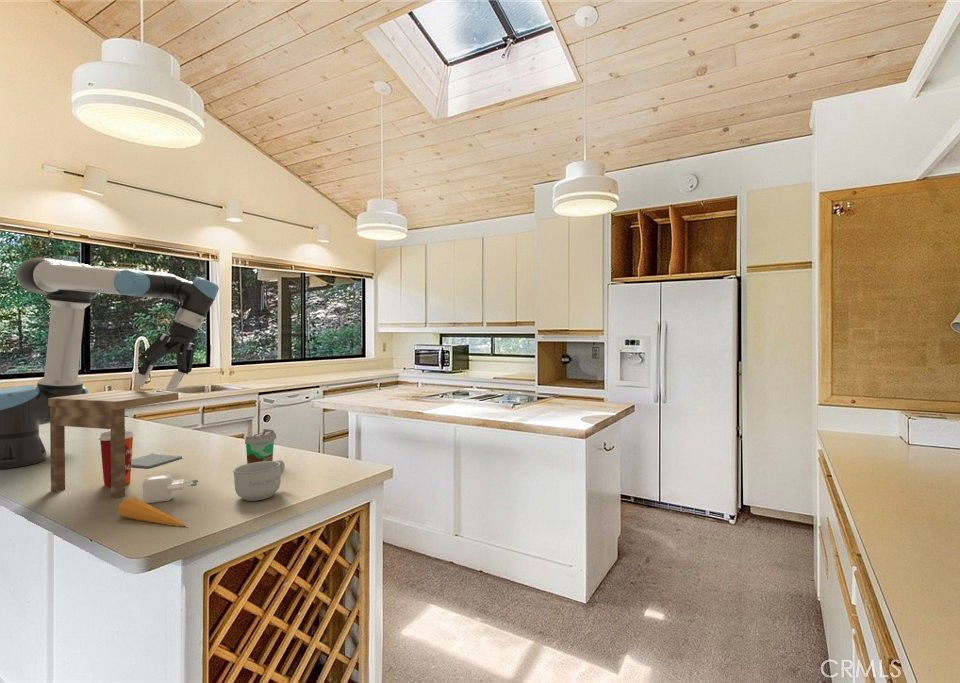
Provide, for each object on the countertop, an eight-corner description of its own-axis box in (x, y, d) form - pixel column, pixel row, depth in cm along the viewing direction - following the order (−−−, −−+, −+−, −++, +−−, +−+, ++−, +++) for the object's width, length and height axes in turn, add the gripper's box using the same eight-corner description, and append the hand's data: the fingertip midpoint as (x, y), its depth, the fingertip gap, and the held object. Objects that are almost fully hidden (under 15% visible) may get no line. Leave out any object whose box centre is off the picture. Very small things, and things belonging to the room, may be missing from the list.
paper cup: (137, 483, 130) (137, 432, 130) (102, 490, 124) (101, 436, 124) (131, 477, 135) (130, 428, 135) (96, 483, 130) (96, 432, 129)
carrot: (118, 520, 107) (111, 504, 105) (137, 506, 111) (131, 491, 109) (183, 543, 100) (177, 527, 98) (201, 528, 104) (196, 512, 102)
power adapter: (198, 493, 123) (198, 470, 123) (196, 499, 119) (196, 475, 119) (146, 499, 118) (146, 475, 118) (142, 505, 114) (141, 481, 114)
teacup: (250, 508, 113) (250, 474, 113) (224, 499, 119) (224, 467, 118) (300, 491, 125) (300, 460, 125) (274, 484, 130) (274, 455, 130)
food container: (265, 470, 143) (265, 437, 143) (244, 470, 143) (244, 437, 143) (283, 459, 155) (283, 428, 155) (264, 459, 155) (264, 428, 155)
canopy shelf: (49, 491, 124) (48, 398, 123) (117, 471, 141) (116, 390, 141) (117, 498, 119) (116, 401, 118) (178, 477, 136) (178, 392, 136)
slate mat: (117, 465, 147) (117, 463, 147) (152, 455, 159) (152, 453, 159) (148, 468, 145) (148, 466, 145) (182, 458, 156) (182, 456, 156)
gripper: (169, 318, 139) (133, 387, 135) (220, 337, 163) (191, 396, 159) (147, 310, 140) (111, 378, 136) (201, 330, 164) (172, 388, 160)
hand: (154, 388), depth 148 cm, fingers open, 13 cm apart
